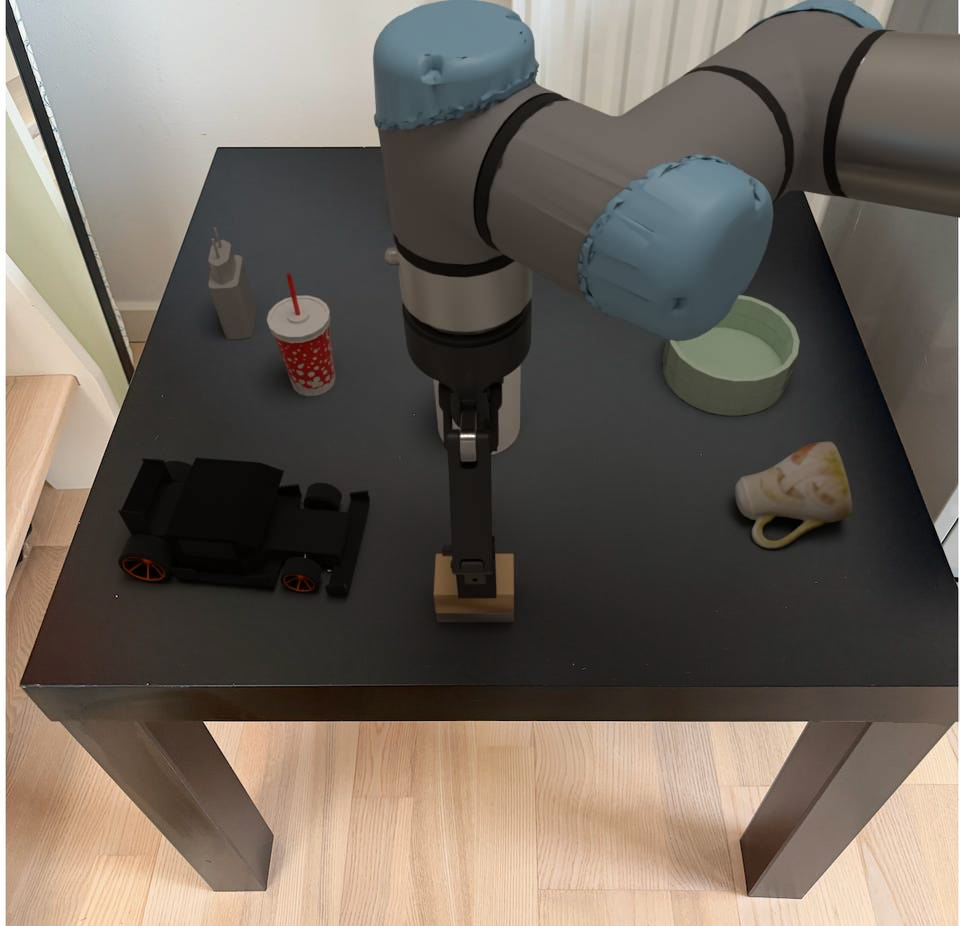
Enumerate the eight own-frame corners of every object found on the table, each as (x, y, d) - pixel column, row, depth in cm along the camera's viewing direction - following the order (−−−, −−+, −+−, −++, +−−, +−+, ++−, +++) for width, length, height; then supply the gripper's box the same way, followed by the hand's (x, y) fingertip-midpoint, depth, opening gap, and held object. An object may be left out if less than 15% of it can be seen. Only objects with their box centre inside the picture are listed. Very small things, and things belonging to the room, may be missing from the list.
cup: (506, 365, 96) (506, 291, 88) (526, 451, 88) (528, 378, 81) (429, 375, 95) (422, 301, 88) (443, 461, 88) (436, 389, 80)
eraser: (513, 582, 79) (513, 553, 75) (513, 622, 76) (513, 594, 73) (439, 581, 79) (435, 553, 76) (436, 622, 77) (433, 594, 73)
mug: (713, 485, 85) (778, 404, 80) (797, 520, 88) (865, 445, 82) (729, 537, 79) (800, 454, 74) (819, 574, 82) (894, 496, 76)
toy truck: (347, 600, 78) (335, 553, 72) (126, 580, 80) (97, 533, 74) (371, 504, 85) (361, 453, 79) (166, 487, 87) (142, 437, 81)
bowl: (813, 379, 93) (826, 343, 90) (725, 435, 89) (735, 400, 85) (723, 313, 100) (731, 277, 96) (636, 362, 96) (642, 327, 92)
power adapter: (257, 305, 103) (232, 216, 94) (252, 338, 100) (225, 249, 90) (230, 307, 103) (202, 218, 94) (224, 339, 100) (194, 250, 90)
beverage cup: (332, 405, 93) (309, 299, 82) (276, 397, 94) (245, 292, 83) (350, 364, 97) (329, 257, 86) (295, 357, 98) (269, 250, 87)
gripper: (414, 174, 60) (437, 397, 76) (382, 463, 44) (419, 667, 60) (527, 172, 60) (526, 396, 76) (537, 461, 44) (532, 667, 60)
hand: (479, 516), depth 68 cm, fingers open, 13 cm apart
